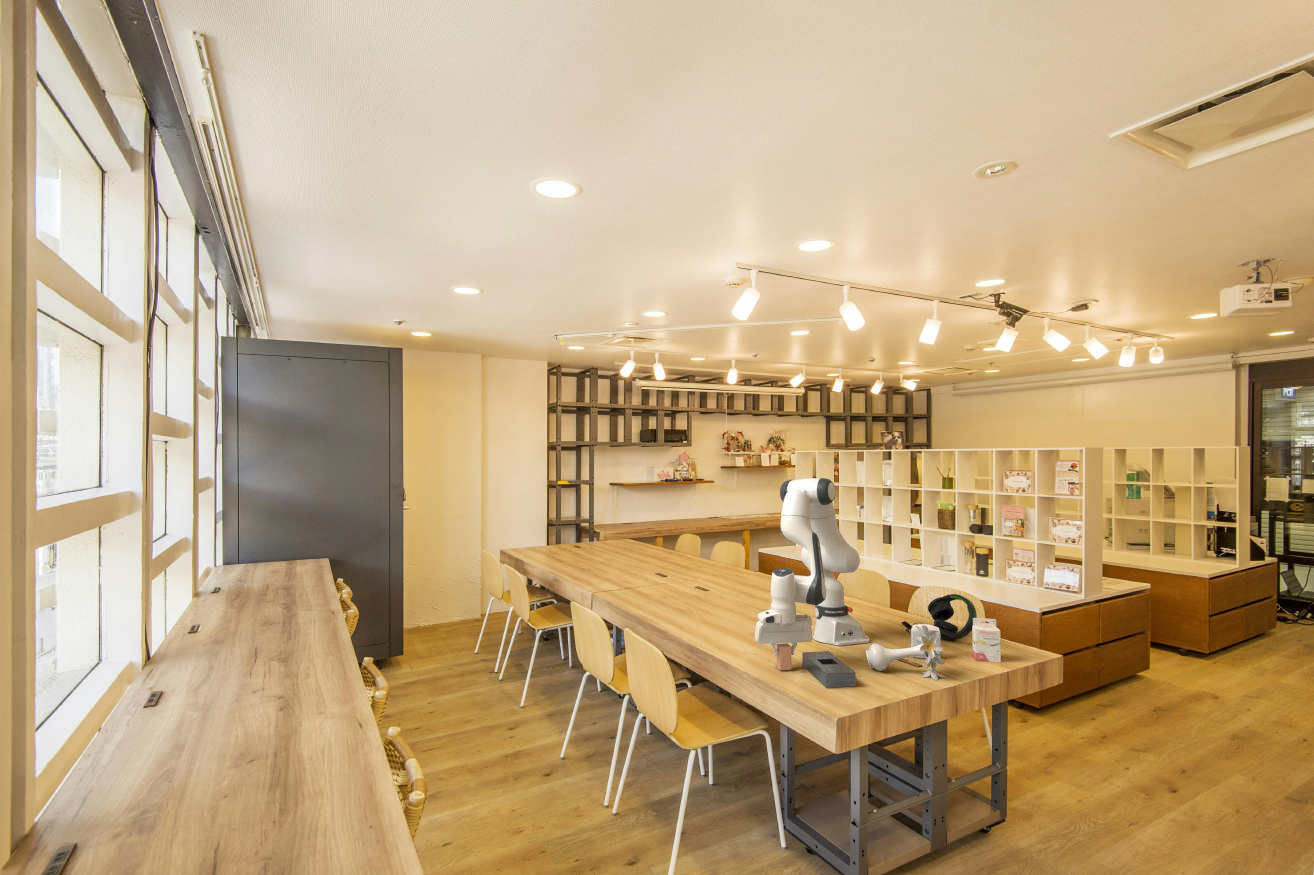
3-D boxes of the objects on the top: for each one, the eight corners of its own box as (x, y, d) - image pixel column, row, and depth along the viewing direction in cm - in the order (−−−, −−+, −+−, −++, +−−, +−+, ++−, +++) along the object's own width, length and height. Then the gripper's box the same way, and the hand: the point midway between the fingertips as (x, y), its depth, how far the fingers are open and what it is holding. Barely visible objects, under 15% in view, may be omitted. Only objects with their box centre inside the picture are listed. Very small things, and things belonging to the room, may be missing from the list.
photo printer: (940, 657, 231) (939, 624, 232) (941, 660, 227) (941, 627, 228) (910, 654, 234) (909, 621, 235) (911, 658, 230) (911, 624, 231)
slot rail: (829, 664, 223) (828, 651, 223) (855, 686, 201) (855, 672, 202) (802, 665, 222) (802, 652, 222) (826, 688, 200) (826, 673, 200)
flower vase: (876, 693, 213) (953, 683, 205) (861, 644, 212) (938, 631, 204) (875, 674, 225) (947, 664, 217) (860, 627, 224) (932, 615, 216)
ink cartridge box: (975, 661, 227) (974, 620, 227) (972, 656, 232) (971, 617, 232) (1001, 662, 225) (1000, 622, 225) (997, 658, 230) (996, 618, 230)
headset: (924, 653, 263) (985, 634, 243) (902, 643, 258) (963, 623, 238) (918, 614, 274) (976, 593, 254) (896, 603, 270) (954, 581, 250)
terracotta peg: (787, 665, 220) (787, 643, 221) (791, 669, 216) (791, 646, 217) (776, 666, 220) (776, 643, 220) (780, 670, 216) (780, 647, 216)
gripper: (808, 612, 223) (808, 650, 223) (753, 614, 221) (753, 653, 220) (814, 616, 217) (815, 656, 216) (758, 618, 214) (758, 659, 214)
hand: (783, 654), depth 218 cm, fingers closed on terracotta peg, 4 cm apart
